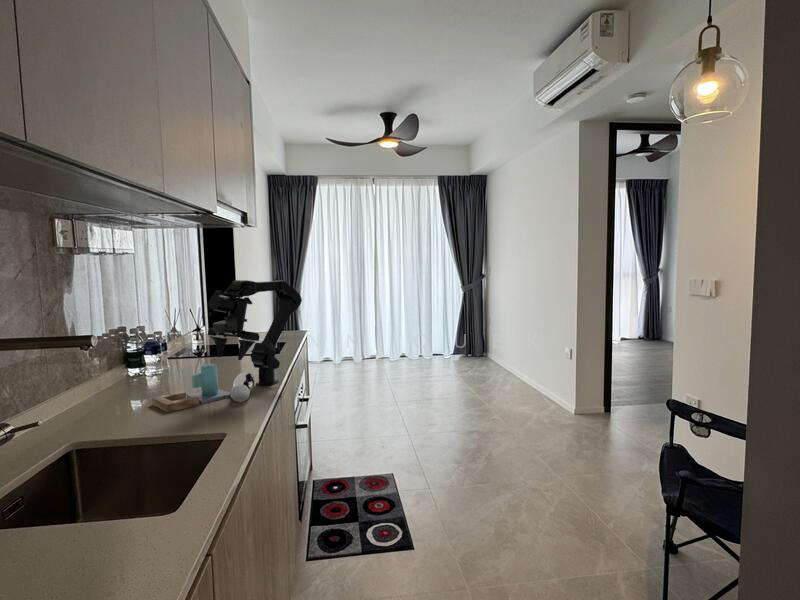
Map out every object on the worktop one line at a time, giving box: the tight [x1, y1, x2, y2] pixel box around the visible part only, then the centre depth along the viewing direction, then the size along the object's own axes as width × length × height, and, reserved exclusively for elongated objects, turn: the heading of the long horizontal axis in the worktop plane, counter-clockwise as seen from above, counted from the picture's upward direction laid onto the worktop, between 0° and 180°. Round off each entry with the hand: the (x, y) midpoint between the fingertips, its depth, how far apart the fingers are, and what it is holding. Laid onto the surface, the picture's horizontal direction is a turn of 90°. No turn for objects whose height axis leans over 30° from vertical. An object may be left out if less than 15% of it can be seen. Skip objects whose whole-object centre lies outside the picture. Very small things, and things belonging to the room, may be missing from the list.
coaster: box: [186, 388, 232, 405], centre depth 161 cm, size 11×11×1 cm
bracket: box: [151, 390, 200, 413], centre depth 152 cm, size 10×12×2 cm
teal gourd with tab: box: [191, 363, 219, 396], centre depth 160 cm, size 8×5×10 cm, turn 139°
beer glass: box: [230, 371, 255, 403], centre depth 162 cm, size 7×7×15 cm
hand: (229, 358), depth 163 cm, fingers open, 9 cm apart
